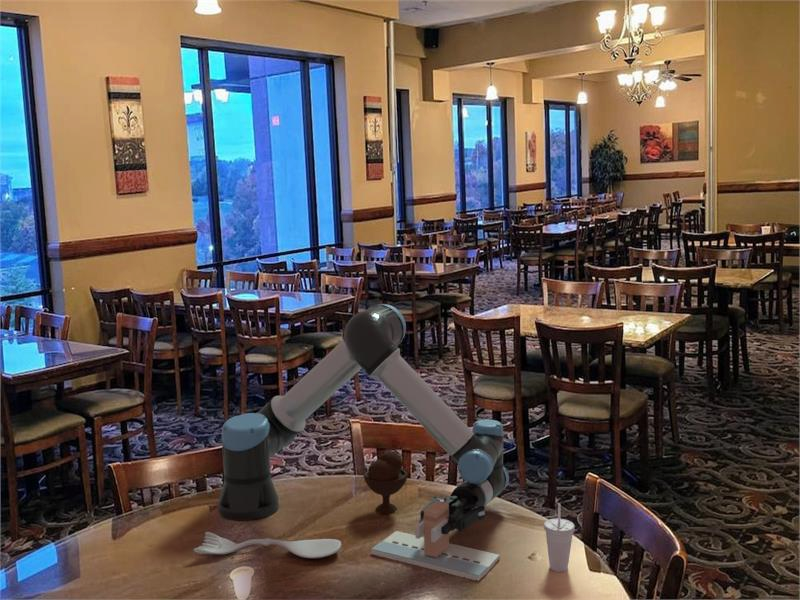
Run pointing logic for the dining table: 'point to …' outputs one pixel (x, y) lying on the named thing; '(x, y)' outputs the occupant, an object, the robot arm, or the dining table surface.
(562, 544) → the smoothie
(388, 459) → the ice cream bowl
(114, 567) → the dining table surface
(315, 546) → the spoon
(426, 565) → the board
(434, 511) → the small tan carton
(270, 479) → the robot arm
